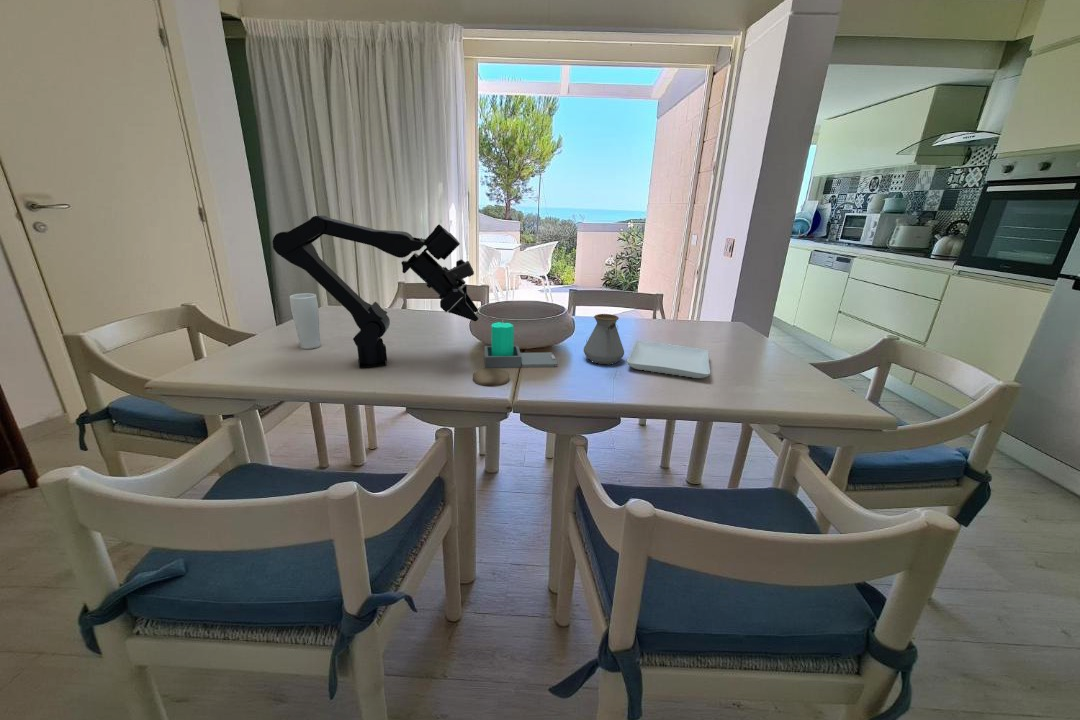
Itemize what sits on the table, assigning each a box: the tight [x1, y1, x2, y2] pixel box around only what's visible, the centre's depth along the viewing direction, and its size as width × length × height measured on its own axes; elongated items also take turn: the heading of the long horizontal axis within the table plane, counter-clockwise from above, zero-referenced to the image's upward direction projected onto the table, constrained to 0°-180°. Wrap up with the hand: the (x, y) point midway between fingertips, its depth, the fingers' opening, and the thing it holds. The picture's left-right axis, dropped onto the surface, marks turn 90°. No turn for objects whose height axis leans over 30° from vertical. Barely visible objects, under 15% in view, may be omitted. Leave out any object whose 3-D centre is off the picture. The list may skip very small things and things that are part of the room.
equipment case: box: [484, 345, 559, 369], centre depth 119 cm, size 19×10×3 cm, turn 98°
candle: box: [491, 319, 515, 356], centre depth 117 cm, size 6×6×12 cm
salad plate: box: [626, 339, 711, 379], centre depth 121 cm, size 21×21×3 cm
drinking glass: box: [289, 292, 322, 350], centre depth 122 cm, size 7×7×15 cm
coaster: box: [472, 367, 510, 387], centre depth 106 cm, size 9×9×1 cm
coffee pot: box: [583, 313, 625, 365], centre depth 115 cm, size 21×12×15 cm, turn 177°
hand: (477, 315), depth 113 cm, fingers open, 9 cm apart
